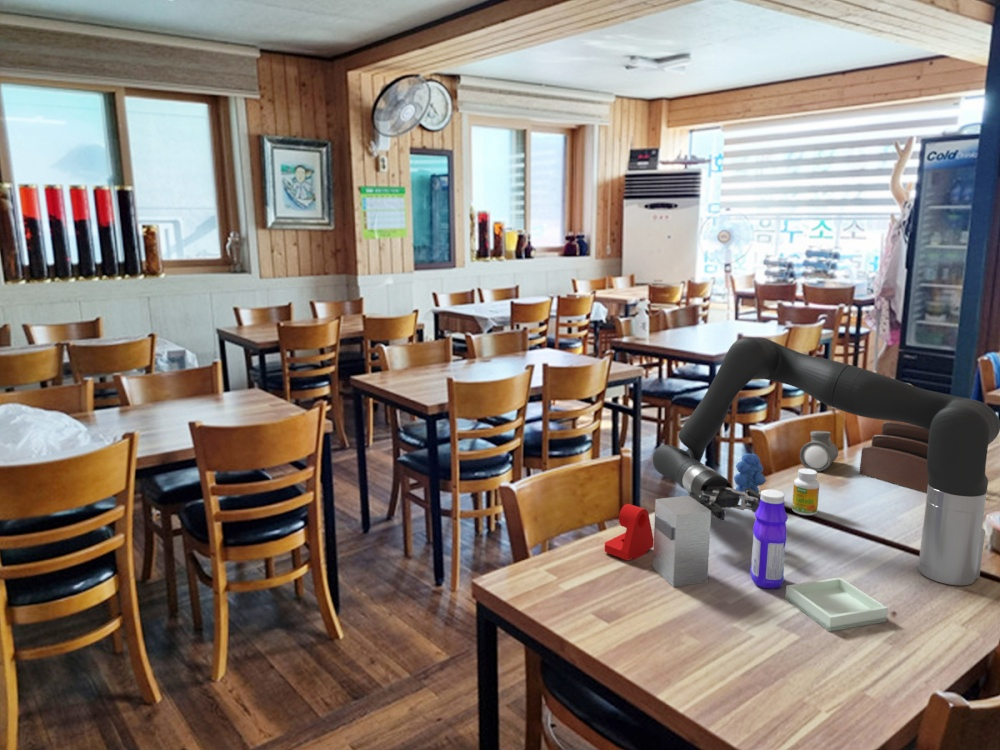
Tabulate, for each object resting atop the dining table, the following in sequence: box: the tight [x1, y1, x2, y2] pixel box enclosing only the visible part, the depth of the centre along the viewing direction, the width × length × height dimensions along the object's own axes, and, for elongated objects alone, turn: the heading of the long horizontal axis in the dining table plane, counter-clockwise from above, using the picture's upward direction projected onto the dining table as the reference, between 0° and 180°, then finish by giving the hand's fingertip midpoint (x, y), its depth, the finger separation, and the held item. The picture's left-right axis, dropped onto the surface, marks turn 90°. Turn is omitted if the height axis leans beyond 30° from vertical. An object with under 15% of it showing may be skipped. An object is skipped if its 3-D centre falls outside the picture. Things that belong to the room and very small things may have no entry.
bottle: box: [750, 488, 789, 589], centre depth 135 cm, size 7×6×17 cm
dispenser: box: [652, 494, 712, 588], centre depth 138 cm, size 8×8×14 cm
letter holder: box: [858, 421, 930, 494], centre depth 188 cm, size 10×20×14 cm, turn 33°
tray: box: [785, 577, 888, 633], centre depth 126 cm, size 11×11×2 cm
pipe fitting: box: [799, 430, 839, 473], centre depth 200 cm, size 12×8×10 cm
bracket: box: [603, 503, 654, 562], centre depth 148 cm, size 9×6×10 cm
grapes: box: [733, 453, 767, 494], centre depth 175 cm, size 12×7×12 cm, turn 135°
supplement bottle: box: [791, 468, 820, 516], centre depth 168 cm, size 5×5×10 cm
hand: (743, 514), depth 144 cm, fingers open, 8 cm apart
